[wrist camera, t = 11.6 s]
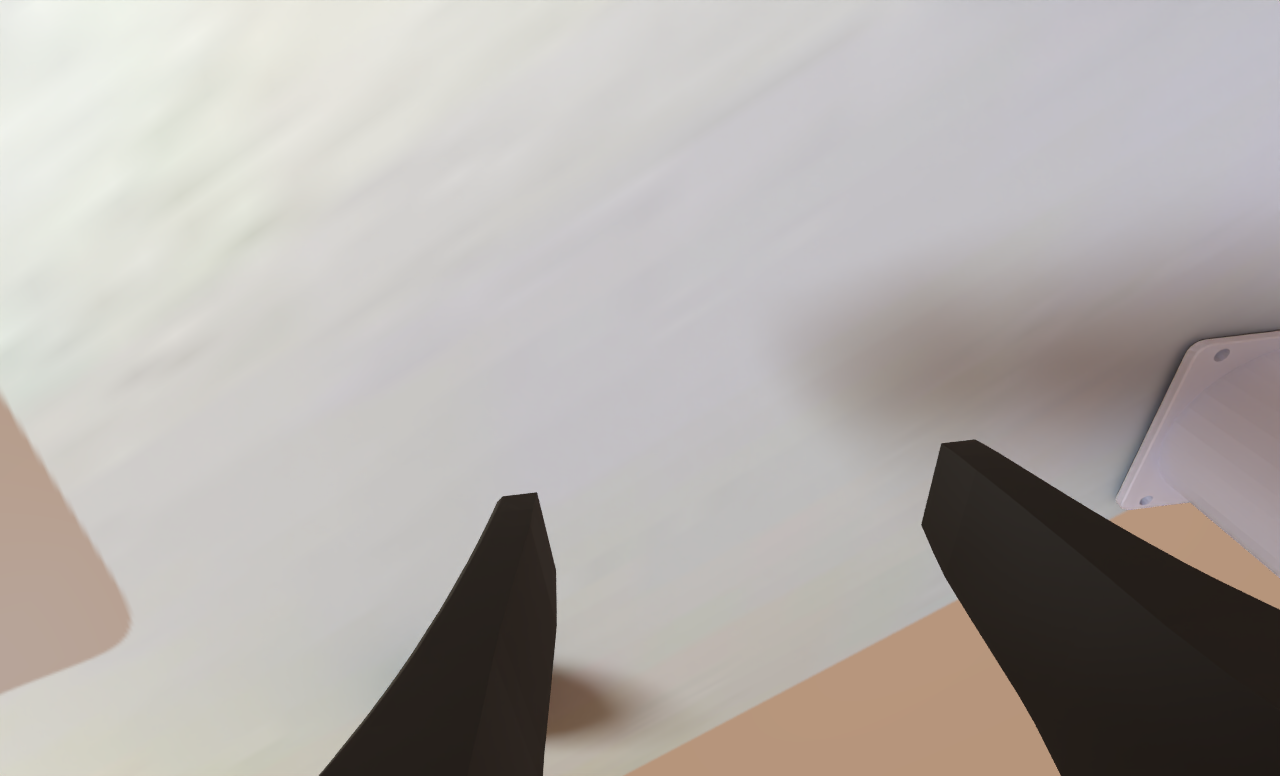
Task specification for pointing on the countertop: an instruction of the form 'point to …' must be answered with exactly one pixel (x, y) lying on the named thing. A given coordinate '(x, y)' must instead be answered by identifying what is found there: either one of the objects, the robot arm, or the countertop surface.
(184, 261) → the countertop surface
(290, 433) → the countertop surface
